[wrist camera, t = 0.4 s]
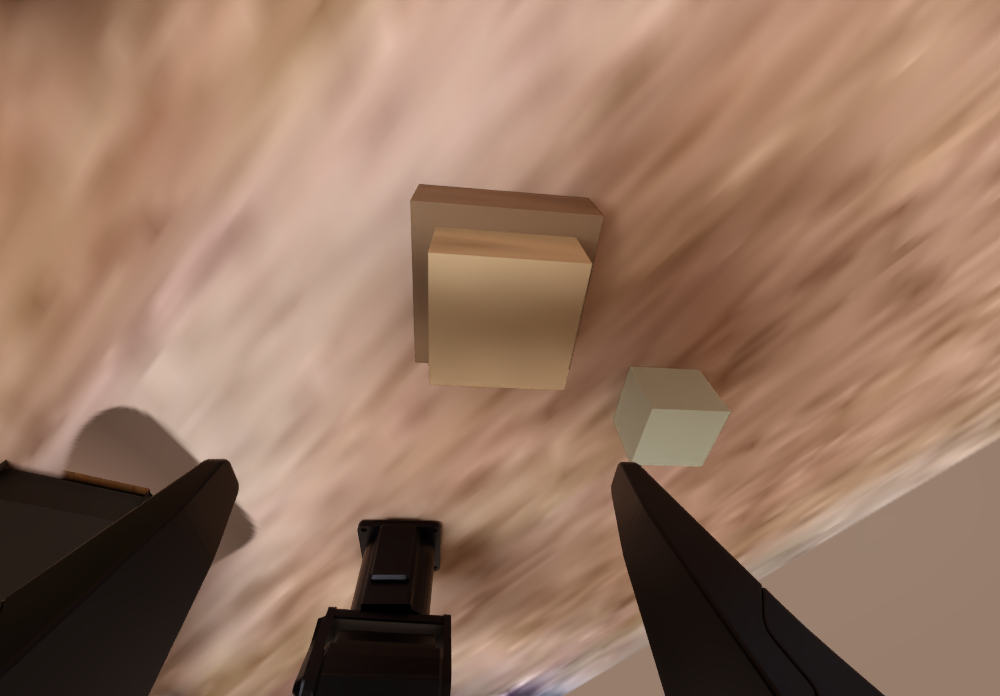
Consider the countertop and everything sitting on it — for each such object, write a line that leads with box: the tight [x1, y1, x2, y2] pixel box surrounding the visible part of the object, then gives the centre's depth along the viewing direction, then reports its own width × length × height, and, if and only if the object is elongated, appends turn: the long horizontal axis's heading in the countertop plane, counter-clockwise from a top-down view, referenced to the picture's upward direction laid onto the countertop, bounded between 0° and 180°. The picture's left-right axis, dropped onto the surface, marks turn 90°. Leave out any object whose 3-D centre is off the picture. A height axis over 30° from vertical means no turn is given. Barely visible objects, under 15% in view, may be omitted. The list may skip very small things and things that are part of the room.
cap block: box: [613, 366, 731, 467], centre depth 25 cm, size 4×4×4 cm
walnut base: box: [410, 184, 604, 369], centre depth 20 cm, size 8×8×3 cm
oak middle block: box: [428, 227, 592, 390], centre depth 18 cm, size 6×6×3 cm
